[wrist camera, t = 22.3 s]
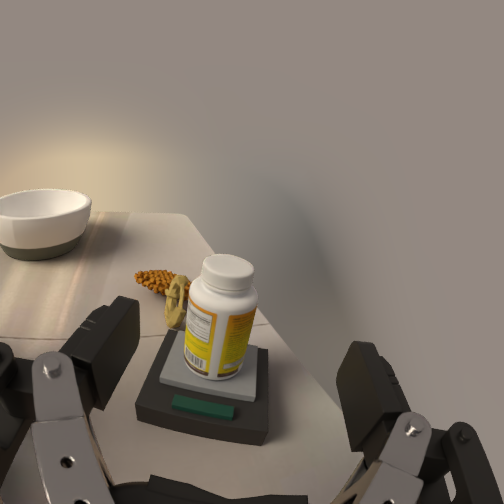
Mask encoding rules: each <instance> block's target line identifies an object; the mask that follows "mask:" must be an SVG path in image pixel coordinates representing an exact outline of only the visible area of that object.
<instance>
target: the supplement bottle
mask: <svg viewBox="0 0 504 504" xmlns="http://www.w3.org/2000/svg"><path fill="white" fill-rule="evenodd" d="M253 274H254V267H253V265H252V264H251V263H249V262H248V261H246V260H244V259H242V258H240V257H237V256H233V255H228V254H214V255H210V256H208V257H206V258H205V259H204V261H203V267H202V271H201V276H199V277H197V278H196V279H195V280H194V281H193V282H192V283H191V285H190V289H189V297H188V308H187V319H186V330H185V343H184V360H185V363H186V365H187V367H188V368H189V369H190V370H191V371H192V372H193V373H195V374H196V375H198V376H200V377H202V378H205V379H209V380H224V379H228V378H231V377H233V376H234V375H236V374H237V373H238V372H239V371H240V369H241V367H242V365H243V361H244V357H245V353H246V349H247V345H248V341H249V337H250V333H251V329H252V325H253V320H254V316H255V312H256V308H257V304H258V293H257V291H256V289H255V288H254V287H253V285H252V283H253Z"/></svg>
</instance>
